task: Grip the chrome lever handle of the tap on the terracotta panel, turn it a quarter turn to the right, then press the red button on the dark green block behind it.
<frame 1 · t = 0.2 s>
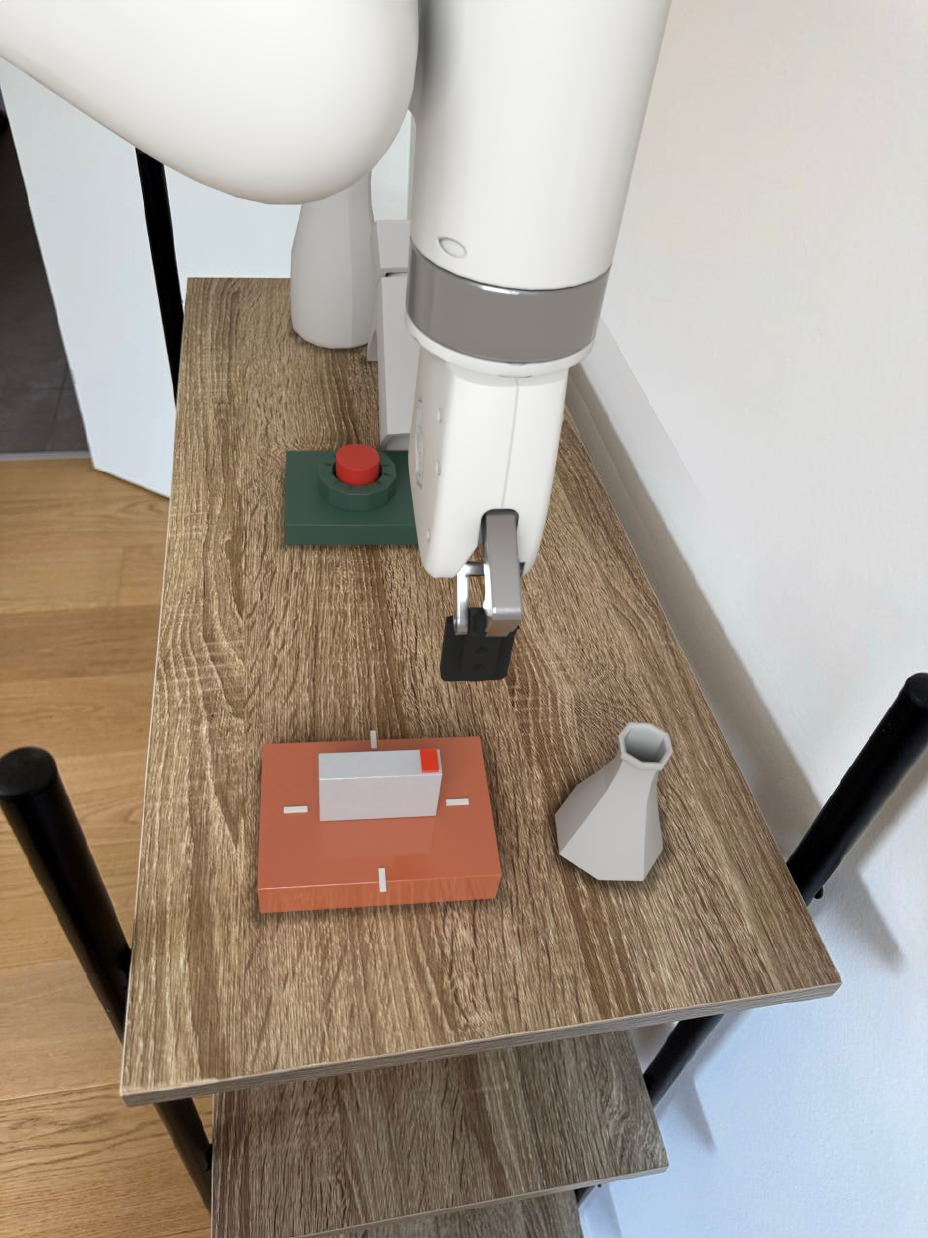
hand: (460, 603, 47), 18 cm above the shelf, tool pointing down, fingers open, 9 cm apart
button block: (356, 506, 79), on the shelf
soap bottle: (336, 331, 99), on the shelf
tap handle: (379, 784, 54), point 5 cm above the shelf, hinge at 0.0°
faucet: (401, 410, 90), on the shelf
button: (357, 465, 76), point 4 cm above the shelf, slide at 0.1 cm
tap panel: (375, 832, 58), on the shelf
flask: (606, 835, 59), on the shelf
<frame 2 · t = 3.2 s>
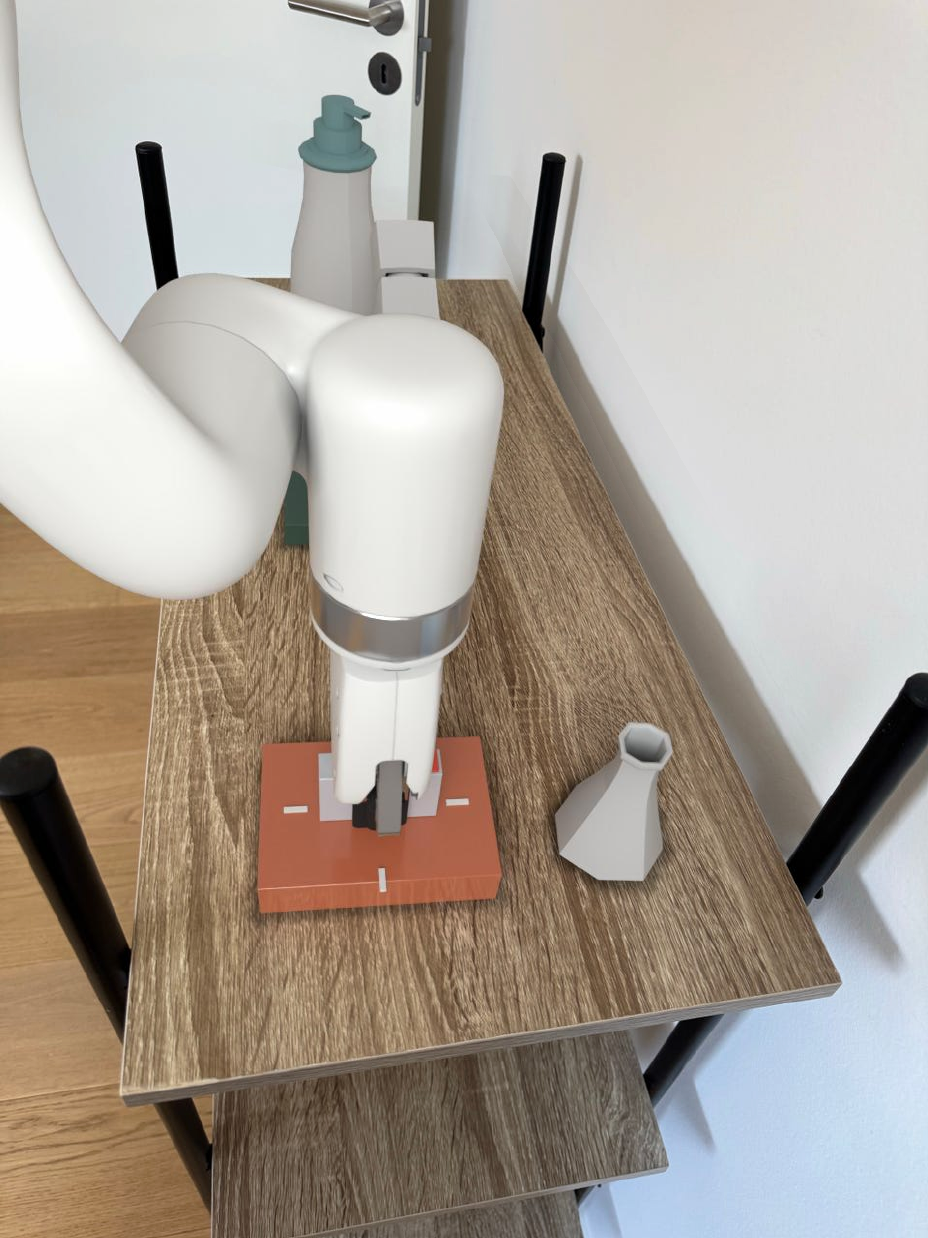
hand: (377, 802, 55), 3 cm above the shelf, tool pointing down, fingers closed on tap handle, 2 cm apart
tap handle: (379, 784, 54), point 5 cm above the shelf, hinge at 0.0°, touching gripper
everything else where it was.
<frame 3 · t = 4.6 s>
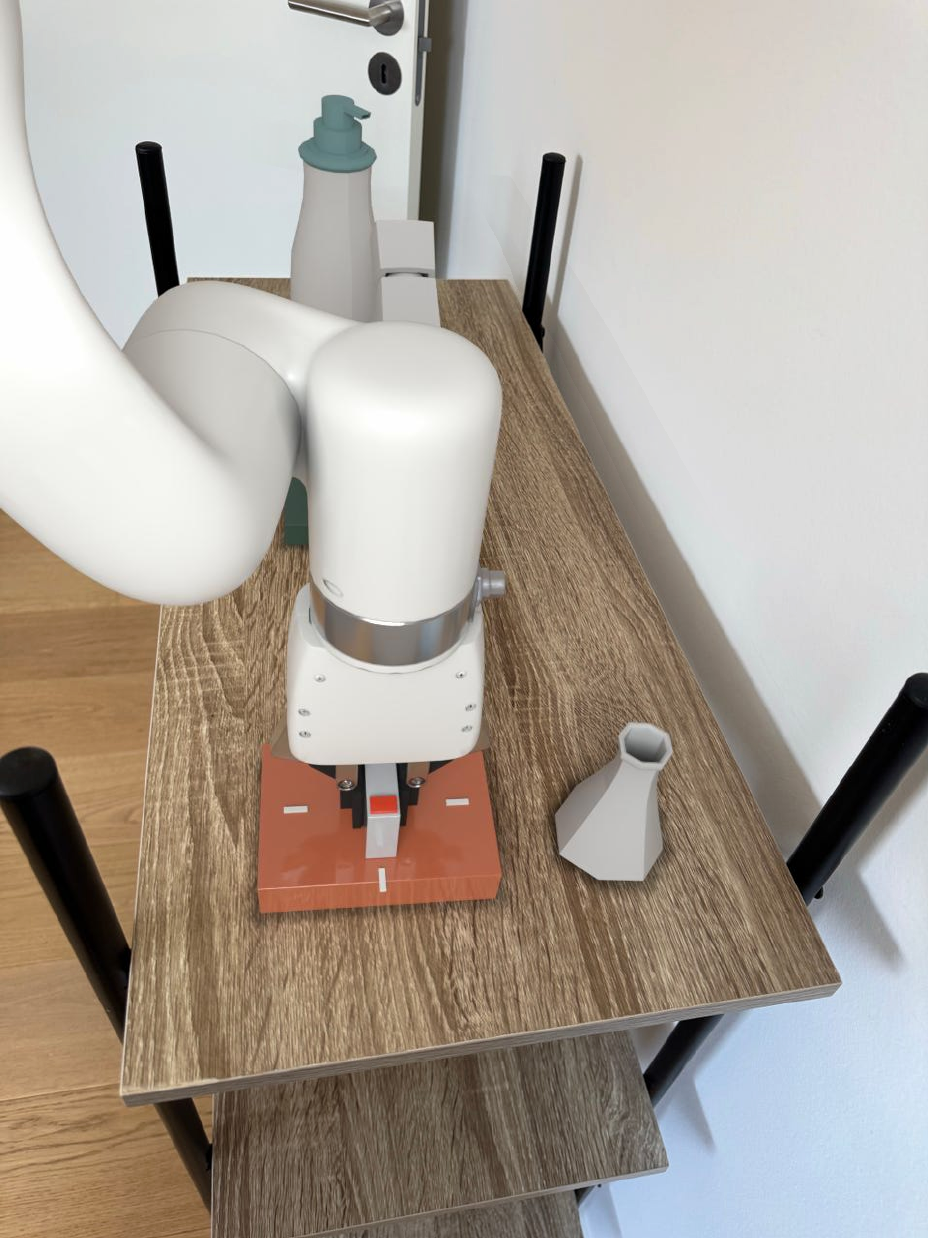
hand: (377, 805, 55), 3 cm above the shelf, tool pointing down, fingers closed on tap handle, 2 cm apart
tap handle: (379, 784, 54), point 5 cm above the shelf, hinge at -89.9°, touching gripper
everything else where it was.
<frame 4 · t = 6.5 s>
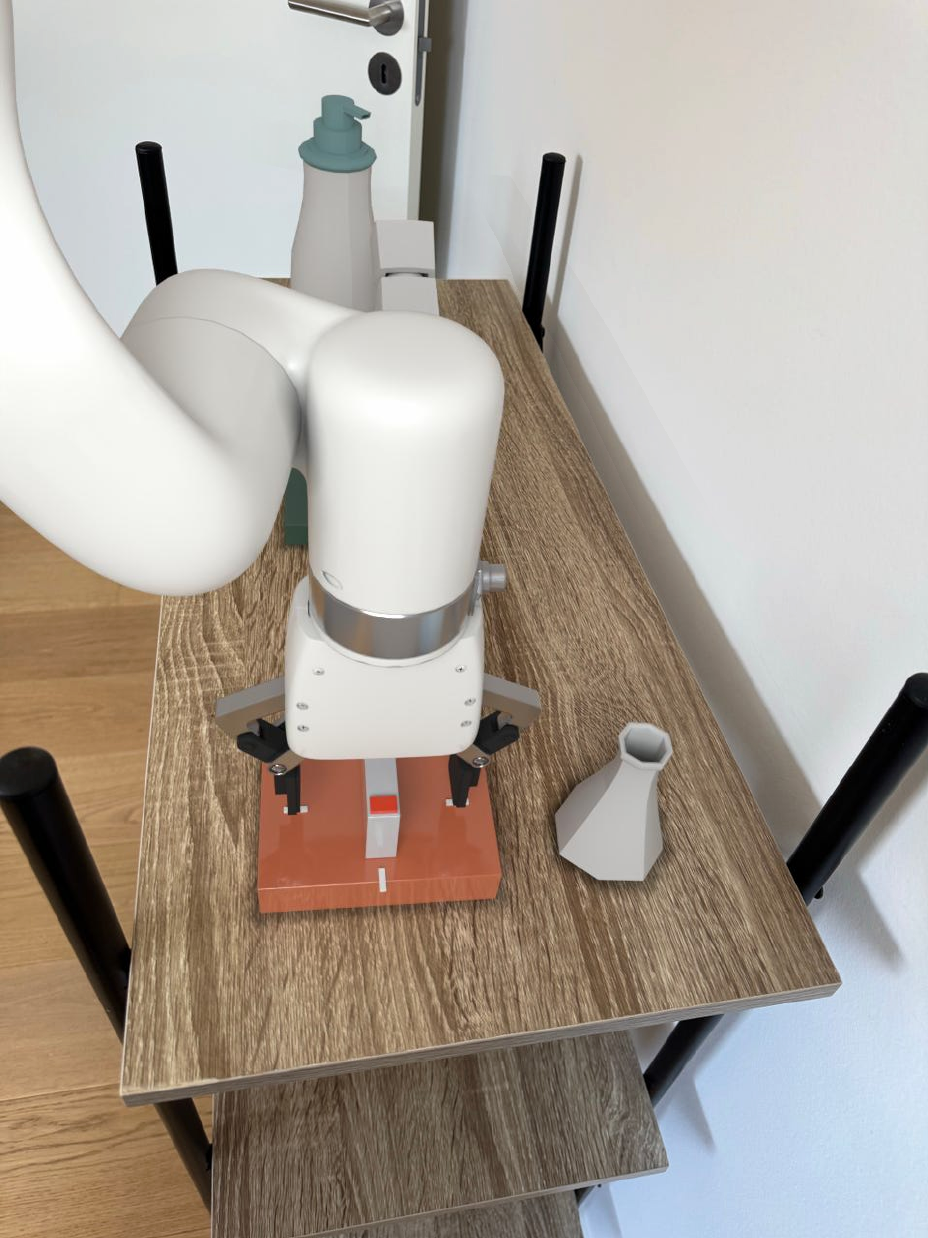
hand: (376, 790, 54), 5 cm above the shelf, tool pointing down, fingers open, 9 cm apart
tap handle: (379, 784, 54), point 5 cm above the shelf, hinge at -90.0°
everything else where it was.
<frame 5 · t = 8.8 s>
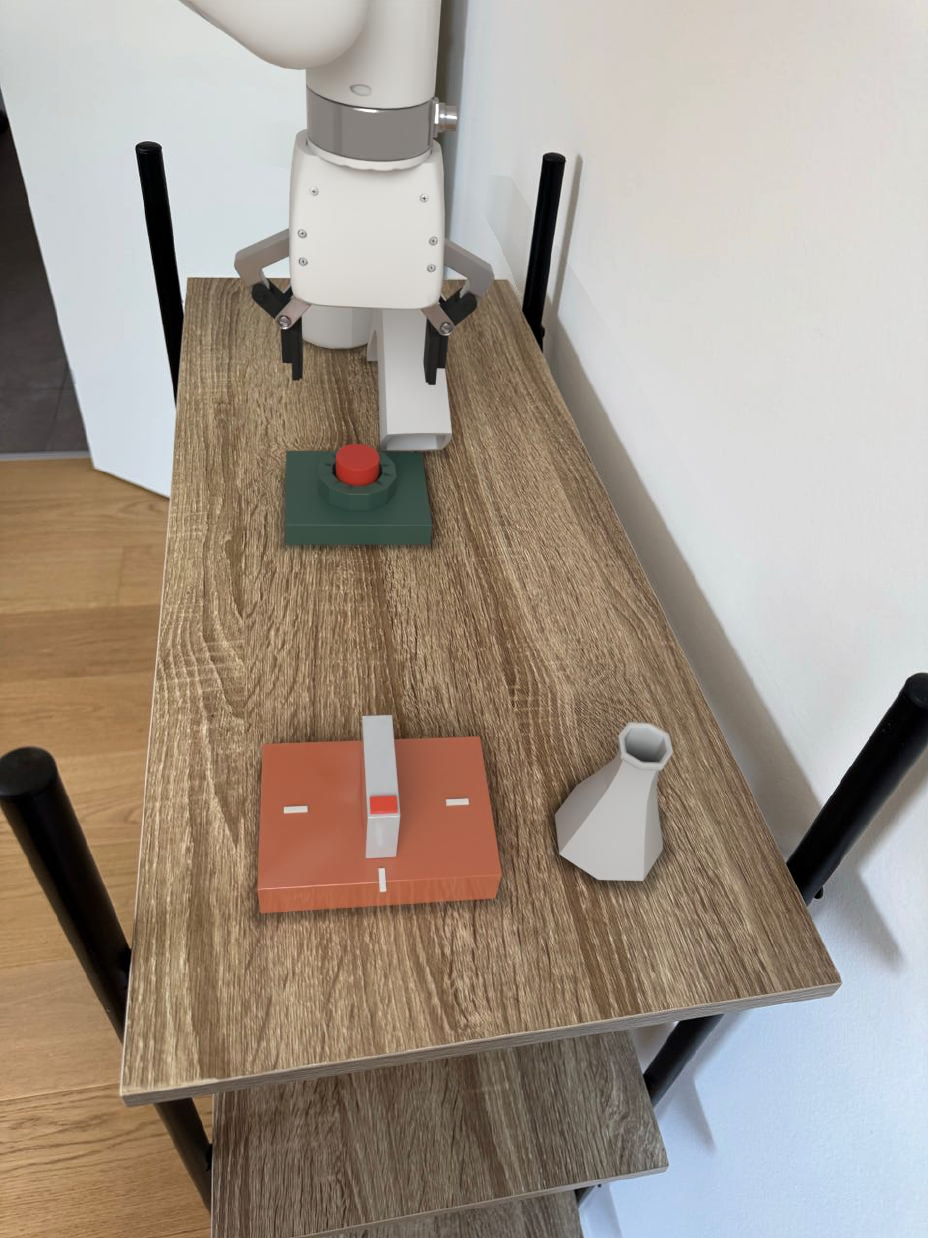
hand: (364, 372, 67), 15 cm above the shelf, tool pointing down, fingers open, 9 cm apart
nothing on the shelf moved.
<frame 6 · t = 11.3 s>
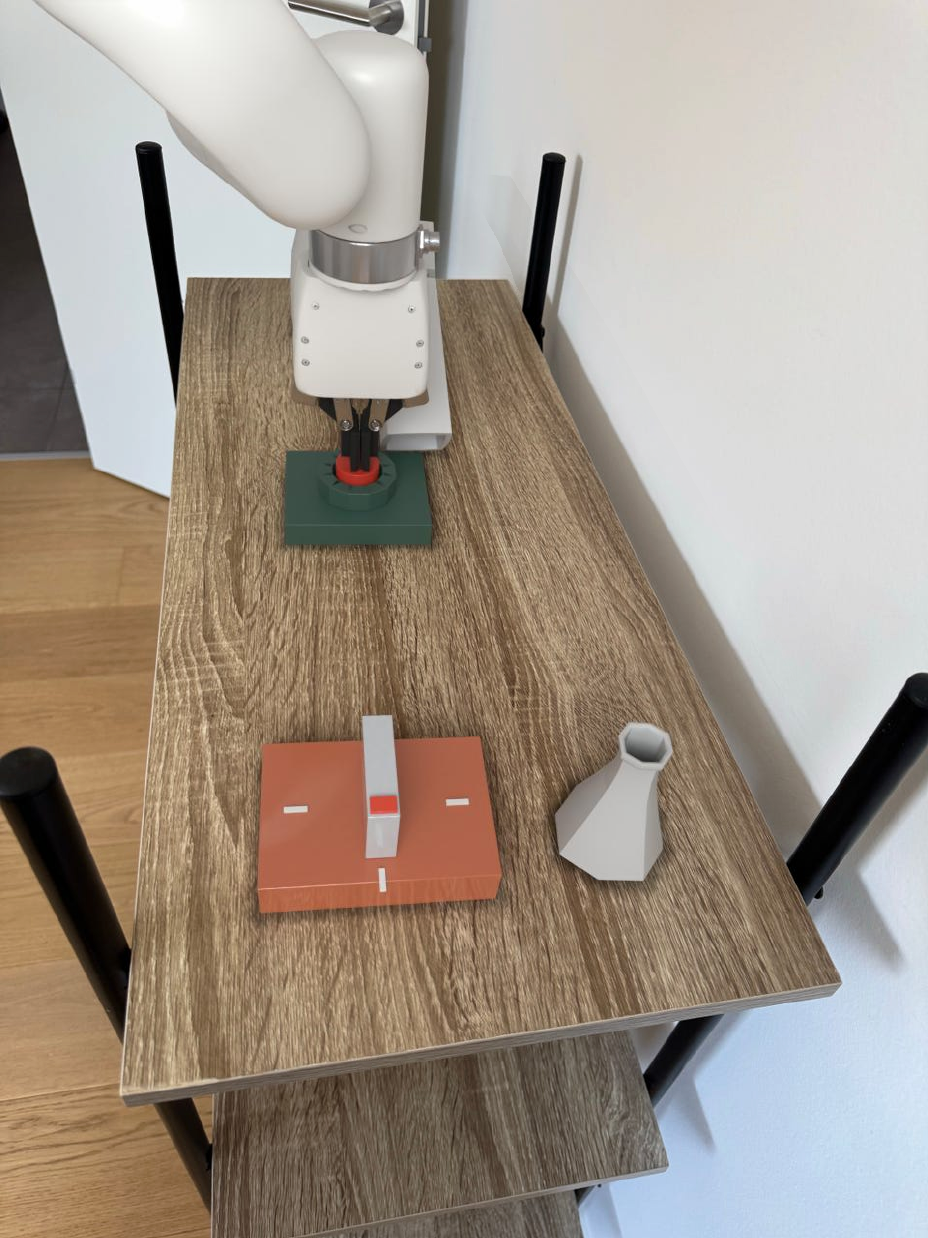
hand: (359, 461, 76), 5 cm above the shelf, tool pointing down, fingers closed
button: (357, 470, 76), point 4 cm above the shelf, slide at -0.5 cm, touching gripper
everything else where it was.
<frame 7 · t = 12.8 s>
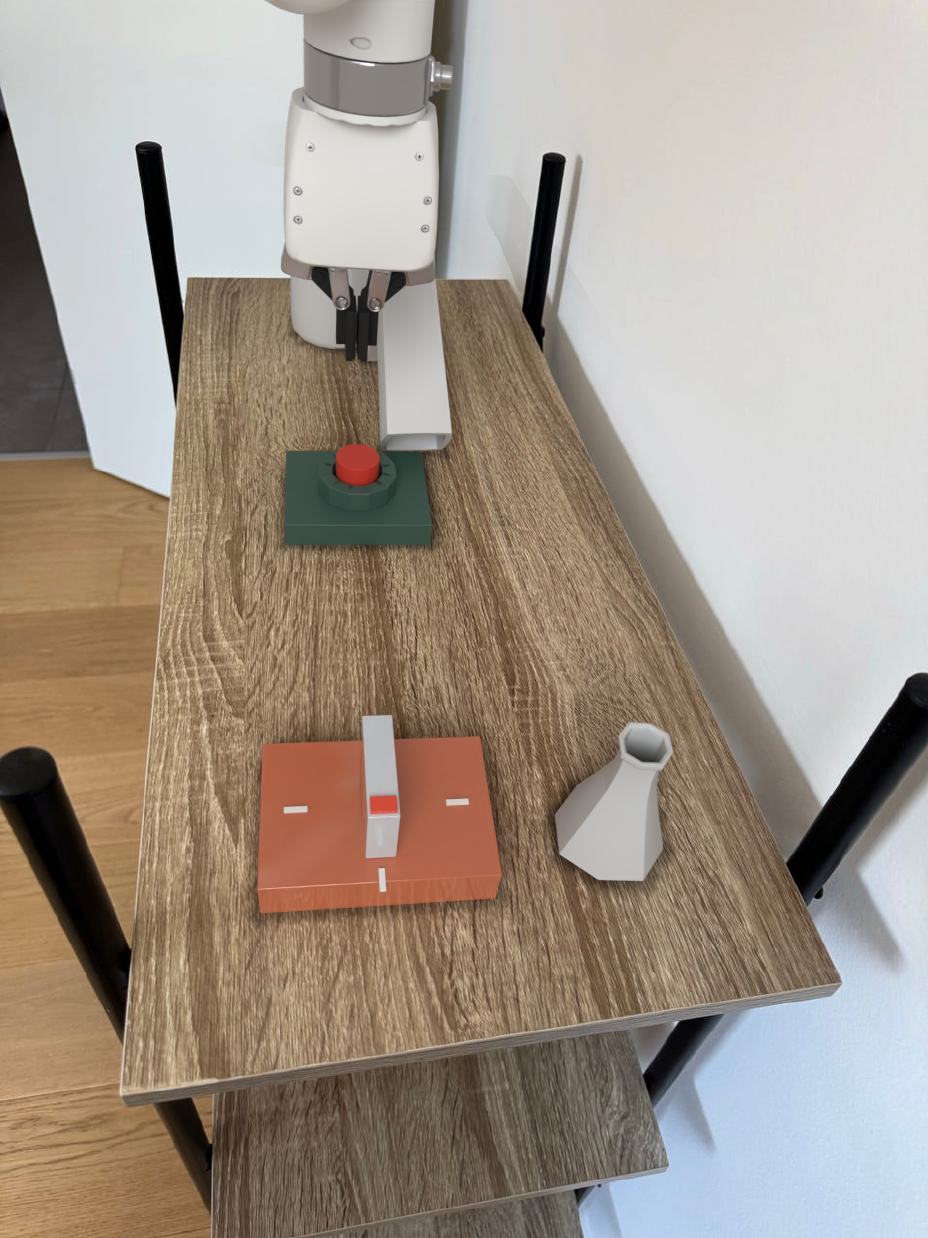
hand: (355, 351, 68), 15 cm above the shelf, tool pointing down, fingers closed
button: (357, 465, 76), point 4 cm above the shelf, slide at 0.1 cm
everything else where it was.
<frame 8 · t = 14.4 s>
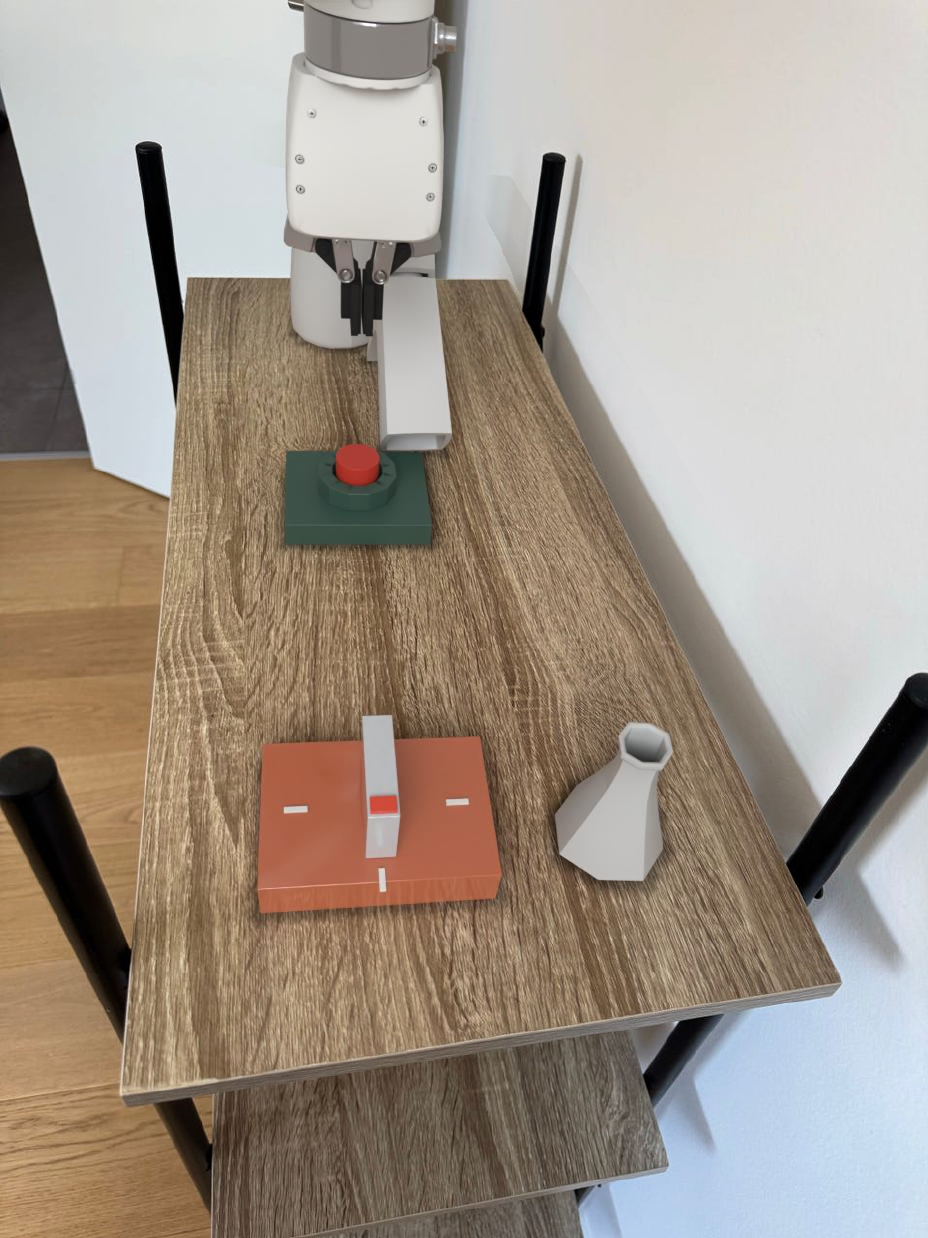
hand: (361, 326, 67), 17 cm above the shelf, tool pointing down, fingers closed
nothing on the shelf moved.
at the end: tap handle at -90° (first picture: +0°); button pushed in 1.1 cm at the most during the clip, back to where it started at the end; button slide at 0.1 cm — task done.
